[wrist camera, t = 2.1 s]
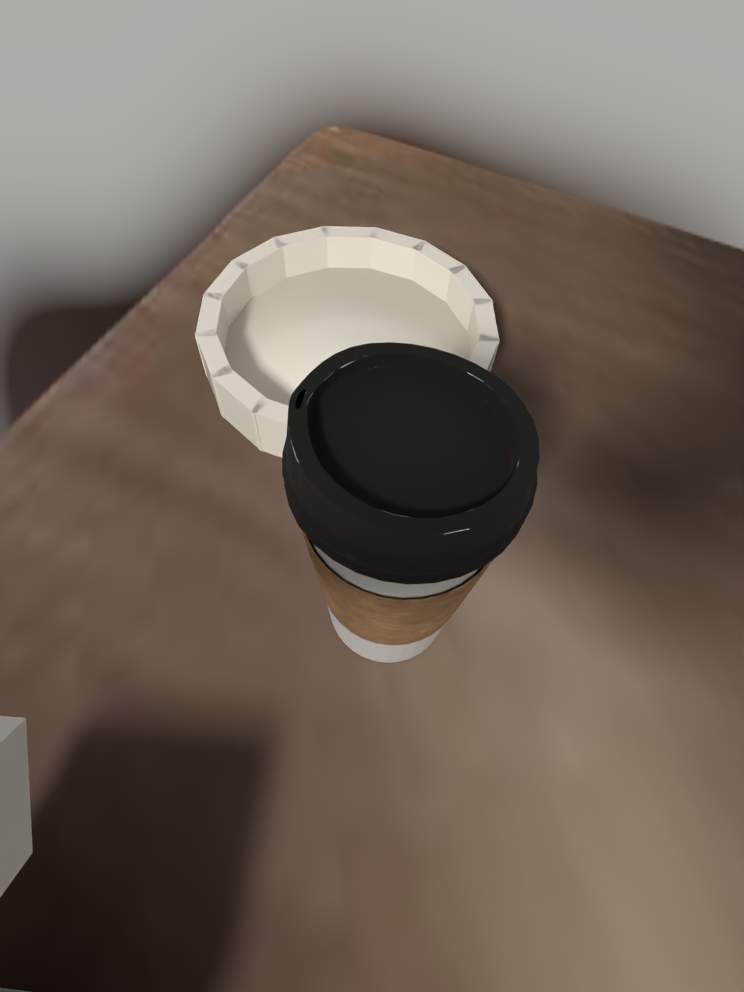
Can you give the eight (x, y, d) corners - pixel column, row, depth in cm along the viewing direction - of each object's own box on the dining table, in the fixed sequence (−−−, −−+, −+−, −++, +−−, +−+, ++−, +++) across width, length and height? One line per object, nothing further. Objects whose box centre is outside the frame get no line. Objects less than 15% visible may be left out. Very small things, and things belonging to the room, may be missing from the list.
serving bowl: (350, 237, 47) (350, 194, 44) (541, 360, 41) (556, 320, 38) (151, 354, 40) (135, 312, 37) (346, 528, 33) (346, 494, 30)
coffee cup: (328, 520, 33) (318, 306, 21) (478, 553, 33) (562, 351, 20) (284, 666, 29) (234, 507, 16) (455, 707, 28) (544, 575, 16)
